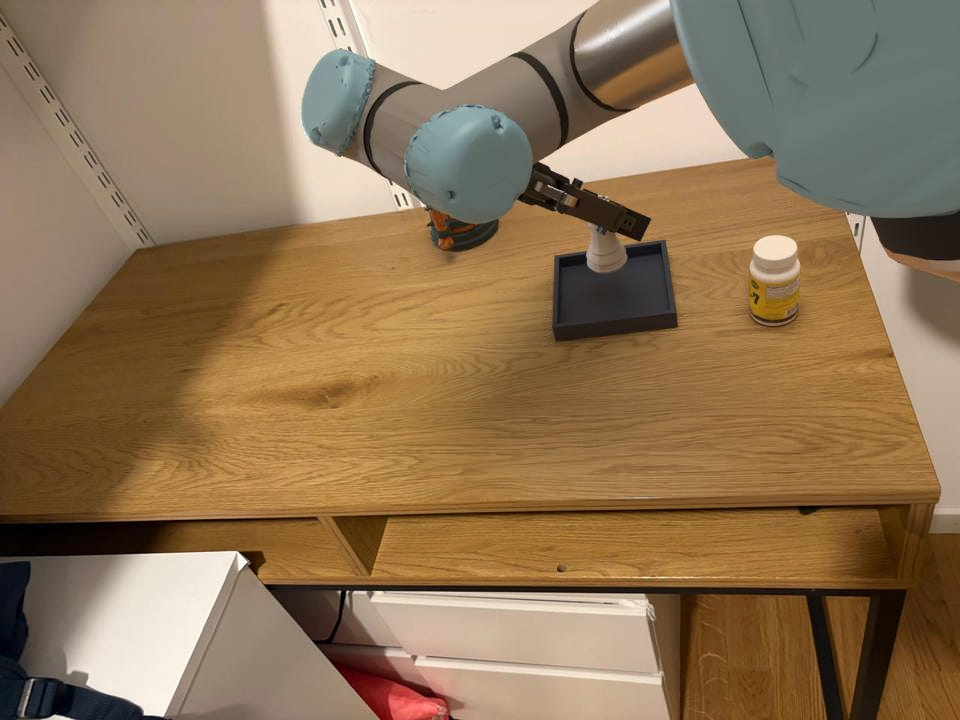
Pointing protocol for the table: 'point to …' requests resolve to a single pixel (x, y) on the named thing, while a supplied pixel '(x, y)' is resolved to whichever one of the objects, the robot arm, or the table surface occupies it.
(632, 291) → the dark tray
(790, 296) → the supplement bottle
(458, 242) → the mug
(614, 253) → the rook chess piece
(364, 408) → the table surface
